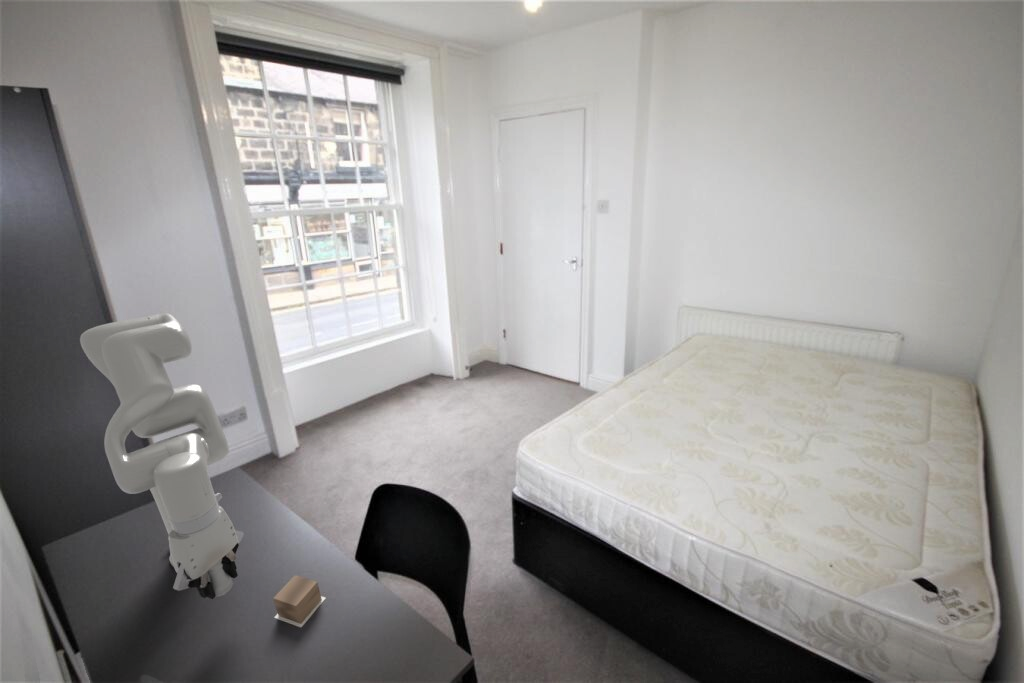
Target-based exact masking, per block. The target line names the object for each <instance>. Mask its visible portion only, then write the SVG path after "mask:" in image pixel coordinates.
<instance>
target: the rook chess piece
mask: <svg viewBox="0 0 1024 683" xmlns="http://www.w3.org/2000/svg"><path fill="white" fill-rule="evenodd" d="M221 562H222V559H221V560H219V561H218V562H217V563H216V564H215V565H214V566H212V567H211V568H210V569H209V570H208V571H207V576H208V581H209V582H211V583H212V586H213V589H214V592H215V595H216V596H215V598H216V597H217V598H218V597H222V596H224V595H225V594H227V593H228V592H229V591H230V590H231V588H232V587H233V585H234V580H233V579H234V578H232V577H231V576H230V575H229V574H227V573H225V572H224V570H223V569H222V566H223V565H222V563H221Z"/></svg>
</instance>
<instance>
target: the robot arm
mask: <svg viewBox="0 0 1024 683" xmlns="http://www.w3.org/2000/svg"><path fill="white" fill-rule="evenodd" d="M79 343H80V346H81V348H82V350H83V351H82V352H84V354H85V355H86V357H87V359H88V360H89V361H90V362H91V364H92V365H93V366H94V367H95V368H96V369H97V370H99V372H100V373H101V374H102V375H104V376H105V378H106V379H108V380H109V382H110V383H111V384H112V385H113V387H114V389H115V392H116V394H117V397H118V399H119V402H120V405H119V406H118V408H117V409H116V411H115V412H114V413H113V416H112V417H111V419H109V423H108V424H107V427H106V430H105V434H104V442H103V444H104V452H105V455H106V457H107V458H106V459H107V461H108V462H109V463H108V464H109V466H110V469H111V472H112V475H113V478H114V480H115V482H116V485H117V486H118V487H119V489H120V490H121V491H122V492H124V493H126V494H130V495H131V494H132V495H133V494H134V495H136V494H140V493H142V492H146V491H148V490H149V491H150V492H151V495H152V497H153V499H154V501H155V503H156V506H157V508H158V511H159V514H160V517H161V519H162V521H163V524H164V527H165V529H166V531H167V534H168V536H167V540H168V545H169V552H170V553H169V554H170V555H169V558H168V559H169V562H170V564H171V566H172V567H173V568H174V570H175V572H176V577H175V580H174V584H173V586H172V589H174V590H175V591H178V592H180V591H183V590H187V589H192V588H193V589H194V588H195V589H197V591H198V594H199V596H200V597H201V598H202V599H206V598H208V599H210V600H214V599H215V598H216V597H215V596H216V595H215V592H214V589H213V586H212V583H211V582H209V580H208V574H207V571H208V570H209V569H210V568H211V567H212V566H214V565H215V564H216V563H217V562H218V561H219V560H221V559H222V562H221V563H222V565H223V566H222V569H223V570H224V572H225V573H227V574H229V575H230V576H231V577H232V579H236V578H237V577H238V576H239V574H238V570H237V565H236V562H235V560H236V558H237V555H236V553H237V551H238V549H239V546H240V544H239V543H241V541H242V539H243V538H244V535H245V533H244V532H243V531H239V530H236V529H235V527H234V524H233V522H232V520H231V519H230V516H229V515H228V514H227V512H226V511H225V509H224V508H223V507H222V506H220V504H219V501H220V500H221V499H222V498H223V495H222V493H220V492H217V493H215V491H214V487H213V484H212V481H211V478H210V475H209V472H208V467H209V466H212V465H214V464H216V463H218V462H219V463H220V462H221V461H223V460H225V459H226V458H227V457H228V455H229V451H230V450H229V444H228V441H227V438H226V434H225V432H224V429H223V428H222V425H221V423H220V419H219V418H218V415H217V413H216V410H215V407H214V406H213V403H212V400H211V397H210V396H209V394H208V393H207V391H206V389H204V387H202V385H199V384H195V383H193V384H192V383H191V384H185V385H182V386H178V387H176V388H174V386H173V384H172V383H171V382H172V381H171V380H170V377H169V375H168V373H167V370H166V369H165V367H164V364H167V363H171V362H175V361H180V360H183V359H186V358H188V357H189V356H190V355H191V354H192V344H191V343H192V342H191V339H190V337H189V334H188V332H187V330H186V329H185V328H184V326H183V325H182V324H181V322H179V321H178V319H176V317H174V316H173V315H172V314H170V313H165V312H163V313H158V314H157V313H156V314H152V315H145V316H142V317H135V318H129V319H123V320H118V321H115V322H109V323H105V324H104V323H103V324H101V325H96V326H94V327H92V328H89V329H87V330H85V331H84V332H82V333H81V335H80V337H79ZM193 425H194V426H196V427H197V428H194V429H192V430H189V431H186V432H182V433H180V434H176V435H174V436H170V437H168V438H167V437H166V438H163V439H162V440H158V441H156V442H154V443H151V444H149V445H147V446H145V447H143V448H140V449H136V450H134V451H132V452H127V450H126V445H125V443H126V440H127V437H128V435H130V432H131V431H132V432H133V433H134V434H135V436H137V437H138V438H141V439H147V438H153V437H158V436H159V435H160V436H161V435H163V434H166V433H169V432H172V431H175V430H178V429H182V428H185V427H188V426H193ZM188 577H190V578H188Z"/></svg>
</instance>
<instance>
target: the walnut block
mask: <svg viewBox="0 0 1024 683" xmlns="http://www.w3.org/2000/svg"><path fill="white" fill-rule="evenodd" d="M321 596H322V594H321V591H320V587H319V582H318V581H316V580H312V579H309V578H306V577H303V576H299V575H297V574H295V575H293V577H292V578H290V579H289V581H288V582H287V583H286V584H285V585H284V586H283V587H282V588H281V589H280V590H279V591H278V592H277V594H276V595H275V596H274V597H273V598H272V599H273V603H274V606H275V609H276V612H277V614H278V616H280V617H283V618H286V619H289V620H292V621H294V622H297V623H300V624H301V623H302V622H303V621H304V620H305V619H306V617H307V616H308V615H309V614H310V613H311V611H312V610H313V609H314V608H315V607H316V606H317V604H318V603H319V602H320V601H321V600H322V598H321Z"/></svg>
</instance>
